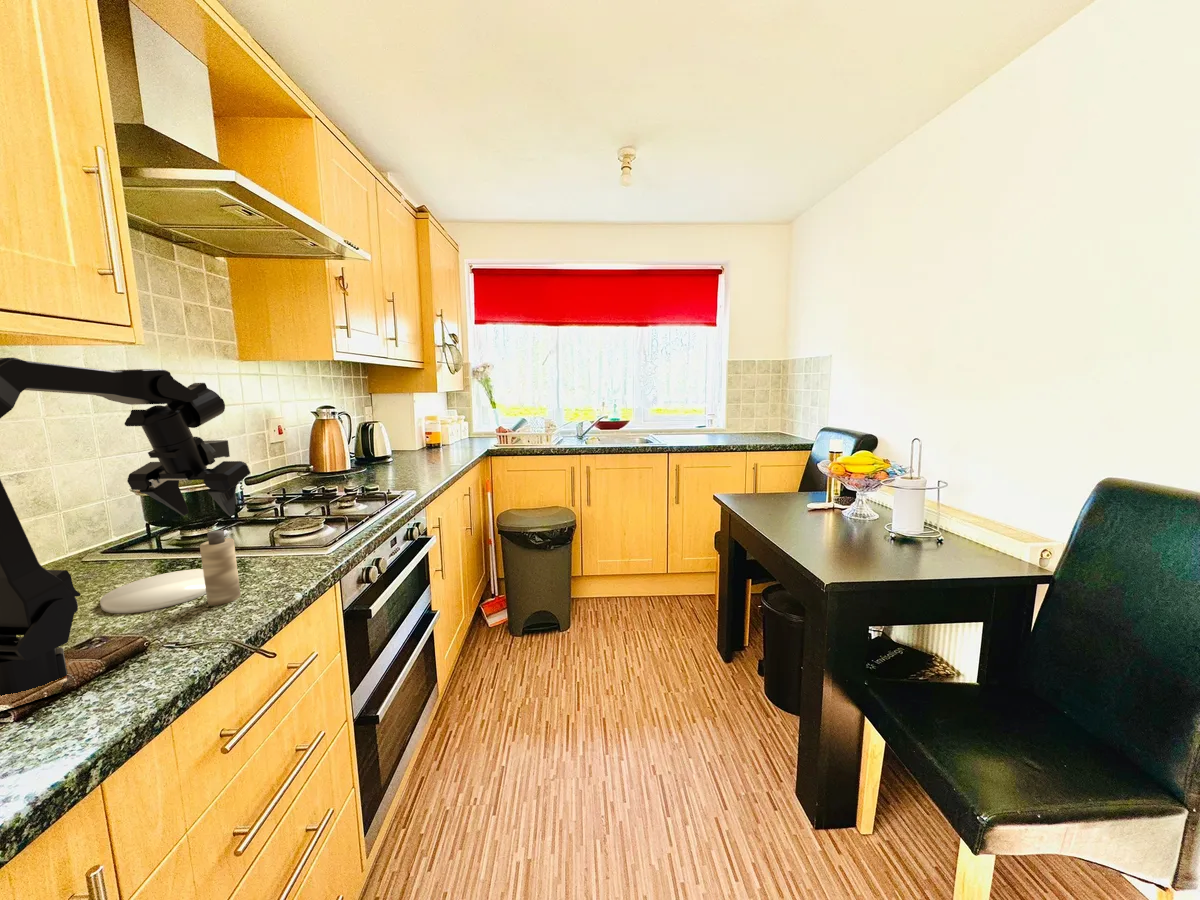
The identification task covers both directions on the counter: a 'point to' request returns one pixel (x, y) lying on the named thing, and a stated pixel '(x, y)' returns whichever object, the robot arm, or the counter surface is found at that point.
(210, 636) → the counter surface
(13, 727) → the counter surface
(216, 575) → the pepper mill
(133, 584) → the plate
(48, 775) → the counter surface
